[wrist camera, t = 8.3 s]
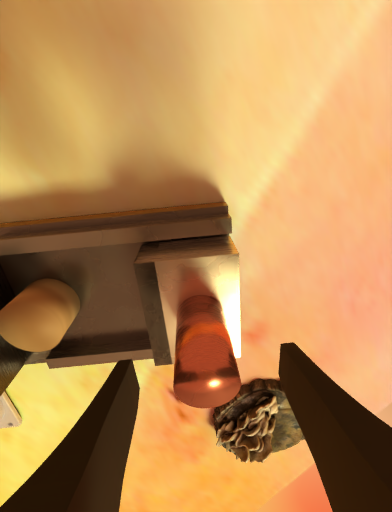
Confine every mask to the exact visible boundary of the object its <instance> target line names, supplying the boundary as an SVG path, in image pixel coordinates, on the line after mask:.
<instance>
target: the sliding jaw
mask: <svg viewBox="0 0 392 512" xmlns="http://www.w3.org/2000/svg"><path fill="white" fill-rule="evenodd" d="M133 265H134V270H135V275H136V279H137V284H138V288H139V293H140V298H141V302H142V307H143V311H144V316H145V321H146V325H147V330H148V334H149V339H150V344H151V348H152V353H153V357H154V362H155V366H158V365H168V364H174V385H173V387H174V392H175V394H176V396H177V397H178V399H179V400H180V401H182V402H183V403H185V404H187V405H189V406H192V407H196V408H213V407H218V406H221V405H223V404H225V403H227V402H229V401H230V400H232V399H233V398H234V397H235V396H236V395H237V393H238V392H239V390H240V386H241V380H240V375H239V371H238V367H237V363H236V359H235V358H239V357H240V292H239V253H238V251H237V249H236V247H235V245H234V243H233V241H232V239H231V237H230V236H223V237H213V238H202V239H192V240H182V241H171V242H161V243H151V244H142V245H141V247H140V250H139V252H138V254H137V256H136V259H135V261H134V263H133Z"/></svg>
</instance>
